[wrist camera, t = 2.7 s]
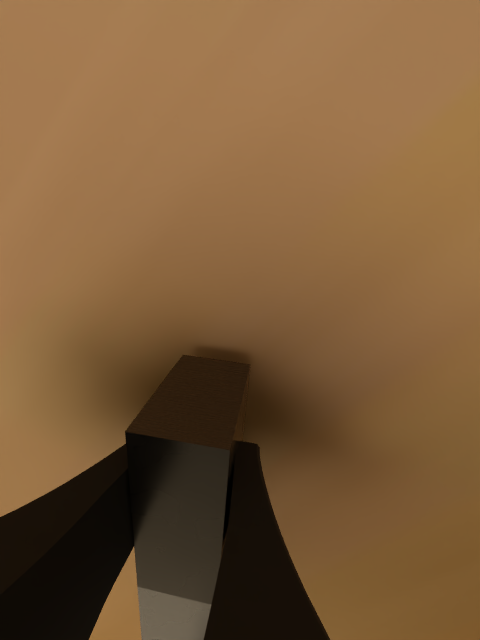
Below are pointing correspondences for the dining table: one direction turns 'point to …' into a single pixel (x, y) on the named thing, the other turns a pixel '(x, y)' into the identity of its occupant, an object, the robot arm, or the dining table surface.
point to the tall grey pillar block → (184, 491)
